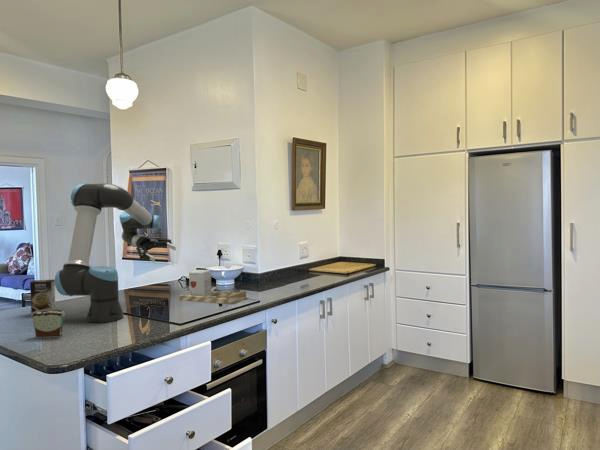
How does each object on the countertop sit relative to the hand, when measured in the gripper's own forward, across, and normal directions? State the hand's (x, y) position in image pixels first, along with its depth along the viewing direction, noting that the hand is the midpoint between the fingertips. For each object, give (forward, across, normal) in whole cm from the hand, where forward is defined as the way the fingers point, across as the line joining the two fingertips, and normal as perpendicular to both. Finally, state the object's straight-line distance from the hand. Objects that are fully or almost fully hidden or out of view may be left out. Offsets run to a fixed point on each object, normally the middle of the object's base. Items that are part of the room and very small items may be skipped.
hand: (164, 253), depth 238 cm
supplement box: (+20, -3, -24) cm, 31 cm away
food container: (+23, +69, +7) cm, 73 cm away
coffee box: (-16, +60, -8) cm, 63 cm away
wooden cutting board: (+27, -8, -23) cm, 36 cm away
